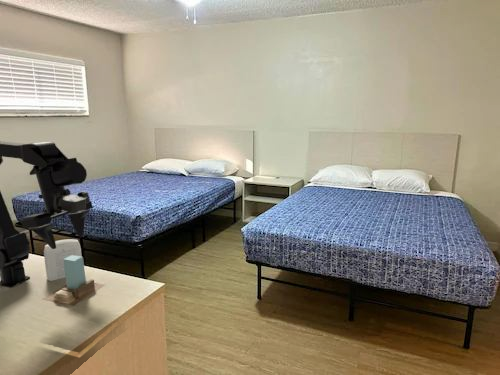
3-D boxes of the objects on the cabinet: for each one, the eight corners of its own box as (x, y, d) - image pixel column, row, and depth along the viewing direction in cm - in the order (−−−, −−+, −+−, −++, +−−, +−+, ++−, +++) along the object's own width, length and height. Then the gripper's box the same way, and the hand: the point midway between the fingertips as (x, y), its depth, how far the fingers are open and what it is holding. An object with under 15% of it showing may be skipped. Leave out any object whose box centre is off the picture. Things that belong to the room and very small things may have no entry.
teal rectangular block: (67, 293, 99) (63, 259, 96) (75, 288, 102) (71, 255, 99) (78, 295, 97) (74, 261, 95) (86, 290, 100) (82, 256, 98)
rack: (42, 301, 96) (40, 289, 95) (76, 281, 107) (74, 270, 106) (73, 308, 93) (72, 295, 92) (105, 287, 104) (104, 275, 103)
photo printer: (82, 270, 115) (78, 235, 112) (84, 275, 111) (80, 239, 109) (46, 278, 109) (41, 241, 107) (47, 284, 106) (42, 246, 103)
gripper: (44, 192, 83) (62, 253, 85) (100, 177, 100) (113, 229, 102) (12, 197, 87) (30, 256, 89) (71, 183, 104) (85, 232, 106)
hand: (68, 242), depth 97 cm, fingers open, 9 cm apart
